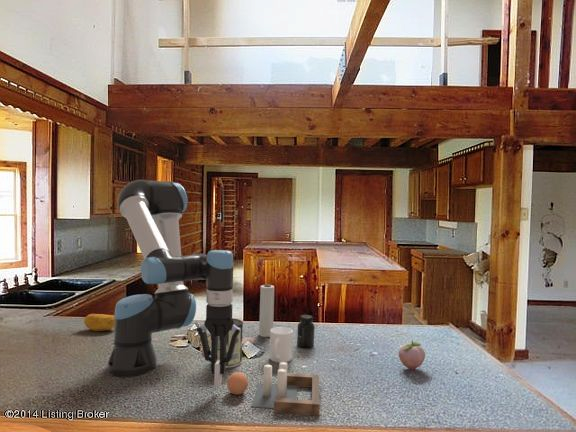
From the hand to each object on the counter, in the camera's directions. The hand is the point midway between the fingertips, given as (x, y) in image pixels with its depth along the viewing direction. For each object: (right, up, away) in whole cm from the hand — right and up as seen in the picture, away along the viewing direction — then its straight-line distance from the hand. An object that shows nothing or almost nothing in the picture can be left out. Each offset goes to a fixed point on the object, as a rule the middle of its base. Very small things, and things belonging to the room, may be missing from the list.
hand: (218, 384), depth 109 cm
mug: (+17, -3, +26) cm, 31 cm away
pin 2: (+18, -3, -3) cm, 19 cm away
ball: (+6, 0, 0) cm, 6 cm away
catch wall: (+23, -3, -1) cm, 24 cm away
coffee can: (-1, -3, +23) cm, 23 cm away
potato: (-60, -1, +52) cm, 80 cm away
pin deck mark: (+17, -3, 0) cm, 17 cm away
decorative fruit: (+63, -5, +21) cm, 67 cm away
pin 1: (+19, -3, +2) cm, 19 cm away
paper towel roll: (+11, -3, +53) cm, 54 cm away
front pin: (+14, -3, 0) cm, 15 cm away
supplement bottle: (+27, -3, +41) cm, 49 cm away
